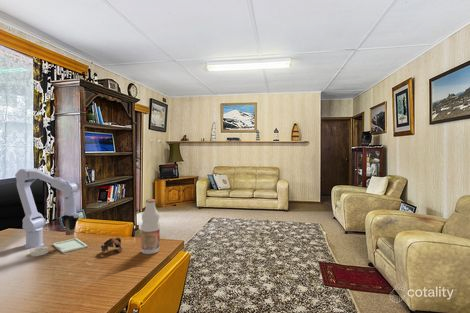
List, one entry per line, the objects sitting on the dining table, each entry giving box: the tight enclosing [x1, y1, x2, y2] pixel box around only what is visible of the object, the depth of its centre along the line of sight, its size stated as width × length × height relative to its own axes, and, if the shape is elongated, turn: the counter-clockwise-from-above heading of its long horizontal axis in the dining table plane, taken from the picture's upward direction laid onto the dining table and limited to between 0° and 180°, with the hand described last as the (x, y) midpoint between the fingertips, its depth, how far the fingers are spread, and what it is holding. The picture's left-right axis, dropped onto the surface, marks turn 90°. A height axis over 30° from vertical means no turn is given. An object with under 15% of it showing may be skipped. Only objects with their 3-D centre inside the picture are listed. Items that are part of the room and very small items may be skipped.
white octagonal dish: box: [29, 246, 49, 257], centre depth 134 cm, size 7×7×2 cm
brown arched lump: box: [100, 237, 123, 254], centre depth 140 cm, size 12×10×8 cm
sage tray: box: [52, 238, 89, 254], centre depth 145 cm, size 18×12×2 cm, turn 49°
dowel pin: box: [65, 220, 75, 236], centre depth 145 cm, size 4×4×8 cm
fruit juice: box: [140, 198, 161, 255], centre depth 140 cm, size 9×9×28 cm
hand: (70, 228), depth 145 cm, fingers closed on dowel pin, 4 cm apart
